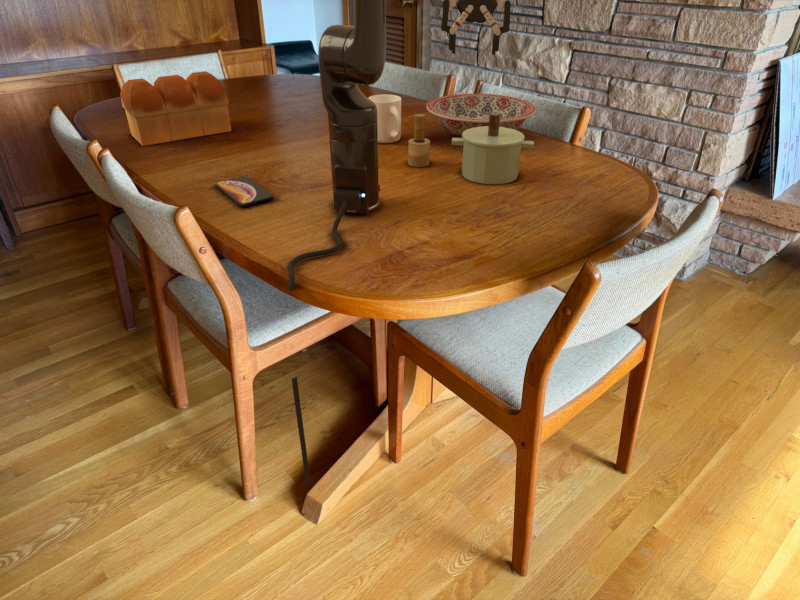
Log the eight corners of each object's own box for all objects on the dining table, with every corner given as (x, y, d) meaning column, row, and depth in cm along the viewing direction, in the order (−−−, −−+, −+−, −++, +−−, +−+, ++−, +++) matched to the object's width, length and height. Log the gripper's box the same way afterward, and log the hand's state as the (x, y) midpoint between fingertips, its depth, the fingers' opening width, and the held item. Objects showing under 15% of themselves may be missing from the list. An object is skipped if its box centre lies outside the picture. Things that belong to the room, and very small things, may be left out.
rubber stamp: (428, 167, 135) (430, 118, 129) (406, 166, 136) (407, 117, 129) (430, 160, 139) (431, 112, 133) (409, 159, 140) (409, 111, 134)
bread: (141, 146, 148) (126, 87, 140) (129, 134, 156) (115, 78, 148) (233, 130, 160) (224, 75, 152) (217, 120, 169) (209, 67, 161)
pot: (531, 186, 125) (536, 148, 121) (448, 182, 127) (450, 144, 123) (527, 166, 136) (532, 131, 131) (451, 163, 138) (453, 127, 133)
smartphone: (241, 204, 114) (213, 182, 124) (241, 208, 114) (214, 186, 124) (275, 195, 117) (245, 174, 128) (275, 199, 118) (246, 178, 128)
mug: (385, 149, 147) (384, 106, 141) (363, 137, 155) (362, 96, 149) (413, 144, 150) (414, 102, 144) (391, 132, 159) (390, 92, 153)
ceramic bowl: (410, 126, 164) (410, 98, 160) (499, 117, 173) (501, 90, 168) (453, 157, 141) (454, 125, 137) (553, 145, 150) (558, 114, 145)
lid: (525, 151, 121) (529, 123, 118) (460, 148, 122) (462, 121, 119) (522, 132, 132) (525, 107, 129) (462, 130, 134) (464, 104, 131)
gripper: (442, -33, 111) (439, 56, 120) (516, -33, 110) (507, 57, 119) (444, -35, 118) (441, 50, 126) (514, -34, 116) (505, 51, 125)
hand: (473, 53), depth 123 cm, fingers open, 8 cm apart
